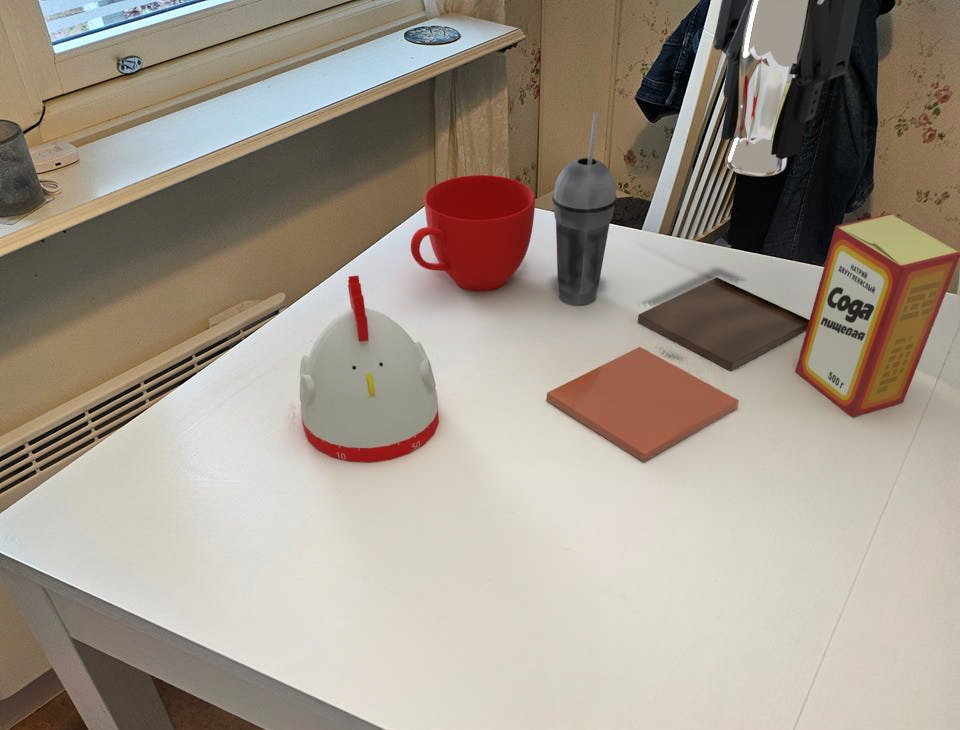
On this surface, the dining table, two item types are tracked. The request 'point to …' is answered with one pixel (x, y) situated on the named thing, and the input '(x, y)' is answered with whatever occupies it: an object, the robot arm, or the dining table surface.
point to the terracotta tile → (642, 403)
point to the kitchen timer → (367, 387)
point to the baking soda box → (874, 312)
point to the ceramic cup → (477, 229)
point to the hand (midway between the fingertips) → (759, 144)
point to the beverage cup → (582, 224)
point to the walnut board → (724, 323)
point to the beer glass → (766, 83)
